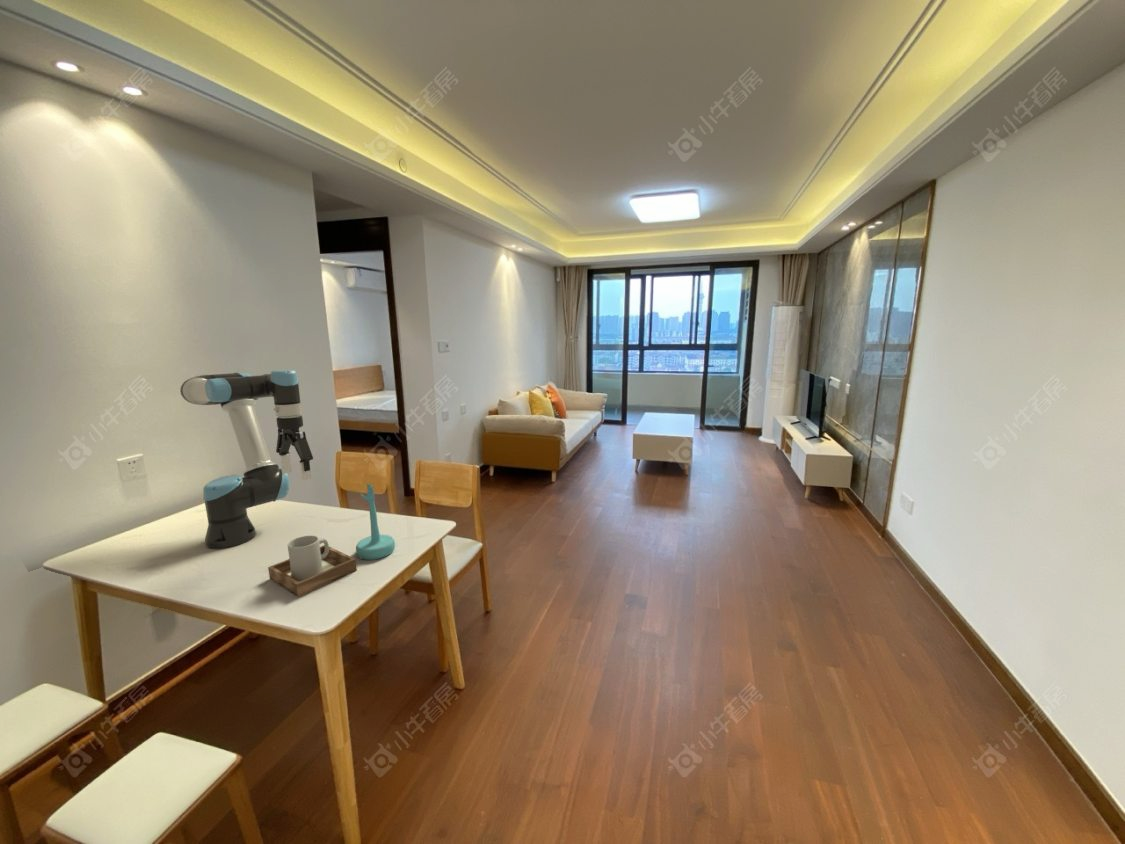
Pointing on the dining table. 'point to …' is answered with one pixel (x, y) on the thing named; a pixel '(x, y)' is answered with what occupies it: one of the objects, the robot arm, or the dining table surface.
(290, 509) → the dining table surface
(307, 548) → the mug
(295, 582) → the walnut box
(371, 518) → the teal branch stand
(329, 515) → the dining table surface
